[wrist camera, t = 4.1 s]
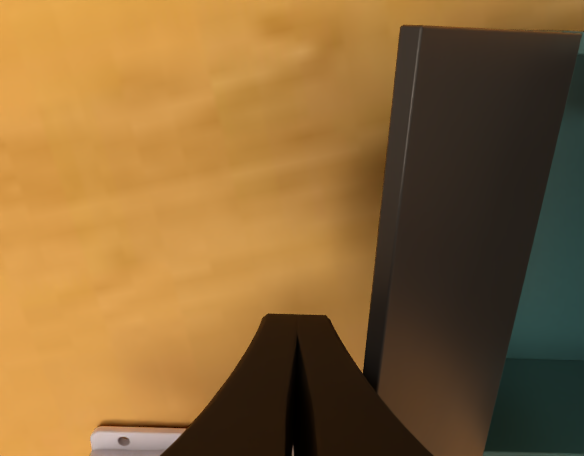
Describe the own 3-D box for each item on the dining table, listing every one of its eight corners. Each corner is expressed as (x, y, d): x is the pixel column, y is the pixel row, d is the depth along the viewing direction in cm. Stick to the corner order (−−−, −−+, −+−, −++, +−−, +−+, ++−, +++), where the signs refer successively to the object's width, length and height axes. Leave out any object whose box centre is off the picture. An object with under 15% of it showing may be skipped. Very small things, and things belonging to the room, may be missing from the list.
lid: (476, 481, 15) (466, 474, 16) (583, 33, 11) (565, 33, 11) (346, 646, 11) (334, 633, 11) (422, 26, 6) (398, 24, 7)
